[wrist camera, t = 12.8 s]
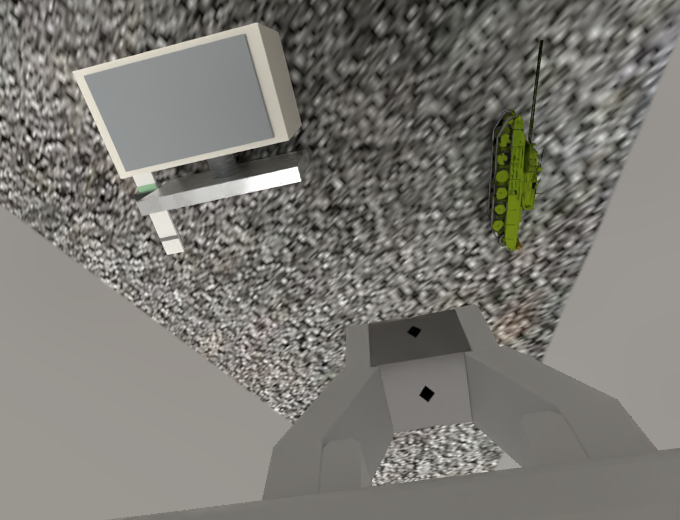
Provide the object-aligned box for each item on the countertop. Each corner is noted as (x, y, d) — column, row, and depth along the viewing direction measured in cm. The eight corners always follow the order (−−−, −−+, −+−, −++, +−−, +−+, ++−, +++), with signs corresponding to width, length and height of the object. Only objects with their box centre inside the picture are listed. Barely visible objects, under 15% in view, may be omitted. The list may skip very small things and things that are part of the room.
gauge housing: (93, 80, 38) (17, 85, 30) (278, 32, 36) (255, 21, 27) (168, 253, 46) (125, 297, 37) (326, 221, 44) (319, 260, 35)
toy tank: (469, 257, 39) (587, 259, 37) (480, 33, 31) (630, 16, 29) (467, 230, 45) (567, 230, 43) (475, 37, 38) (598, 23, 35)
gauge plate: (89, 83, 38) (28, 87, 31) (278, 34, 36) (260, 26, 29) (140, 198, 43) (97, 225, 35) (310, 160, 40) (301, 181, 33)
